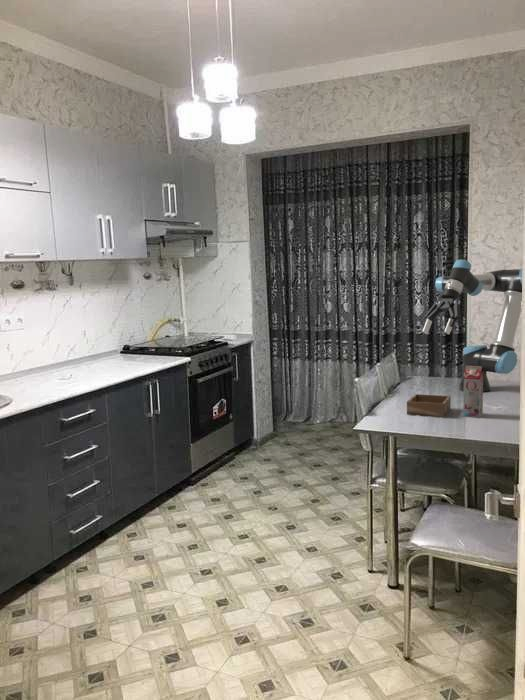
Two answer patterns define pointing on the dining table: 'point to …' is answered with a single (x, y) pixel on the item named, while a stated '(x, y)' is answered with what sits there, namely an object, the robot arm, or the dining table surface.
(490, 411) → the dining table surface
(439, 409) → the walled box
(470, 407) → the juice carton
